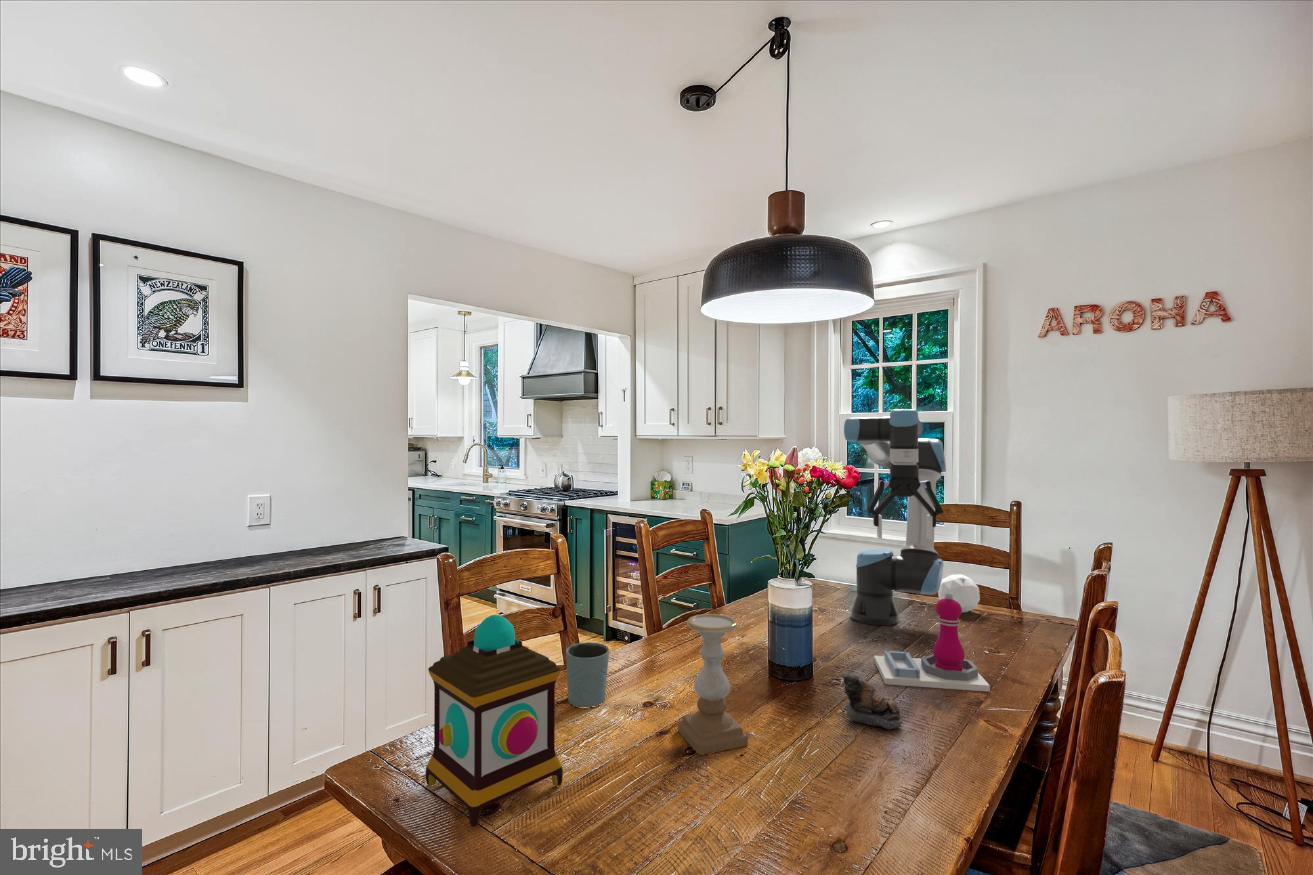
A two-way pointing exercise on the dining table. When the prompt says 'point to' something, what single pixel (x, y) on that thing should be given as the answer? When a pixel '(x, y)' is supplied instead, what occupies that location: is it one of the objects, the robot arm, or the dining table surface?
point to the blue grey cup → (587, 673)
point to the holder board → (927, 678)
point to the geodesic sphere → (960, 591)
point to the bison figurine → (870, 704)
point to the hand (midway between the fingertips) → (904, 538)
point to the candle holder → (712, 692)
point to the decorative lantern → (493, 718)
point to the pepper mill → (948, 635)
